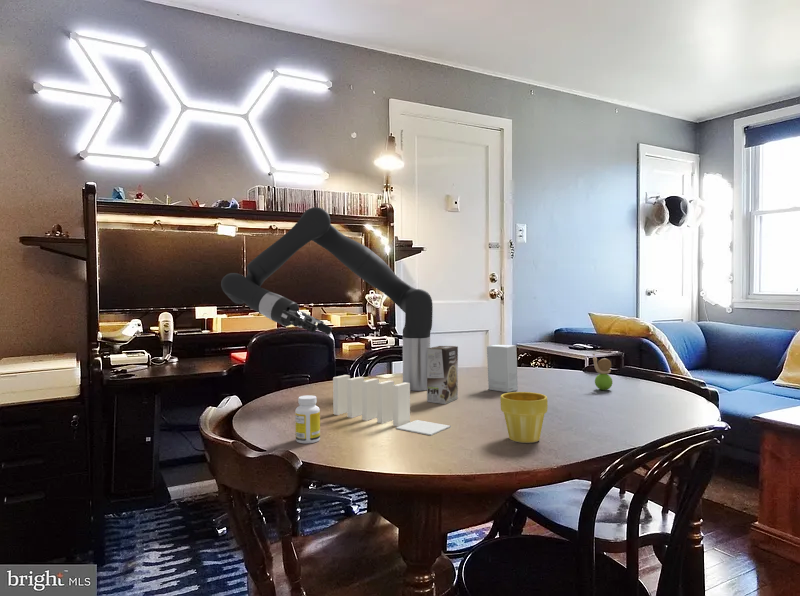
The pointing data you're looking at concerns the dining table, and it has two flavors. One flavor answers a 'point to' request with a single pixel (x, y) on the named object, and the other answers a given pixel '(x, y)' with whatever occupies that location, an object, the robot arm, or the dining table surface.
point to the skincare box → (502, 368)
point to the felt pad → (423, 427)
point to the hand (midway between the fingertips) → (323, 330)
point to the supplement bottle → (307, 420)
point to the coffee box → (442, 374)
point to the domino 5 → (401, 404)
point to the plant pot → (524, 415)
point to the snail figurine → (603, 373)
